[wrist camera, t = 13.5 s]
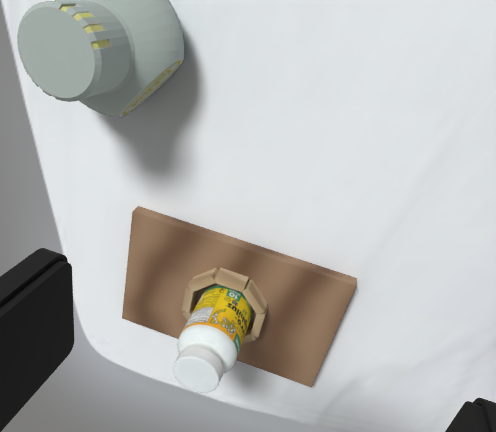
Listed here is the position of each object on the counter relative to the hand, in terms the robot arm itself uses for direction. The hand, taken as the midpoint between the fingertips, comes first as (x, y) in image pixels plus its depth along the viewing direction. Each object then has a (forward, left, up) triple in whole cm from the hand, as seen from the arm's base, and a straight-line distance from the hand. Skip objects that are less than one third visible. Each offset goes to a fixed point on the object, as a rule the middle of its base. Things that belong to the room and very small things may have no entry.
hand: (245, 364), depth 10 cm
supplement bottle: (+4, +21, -26) cm, 34 cm away
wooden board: (+4, +21, -27) cm, 35 cm away
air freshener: (+17, -1, -27) cm, 32 cm away
